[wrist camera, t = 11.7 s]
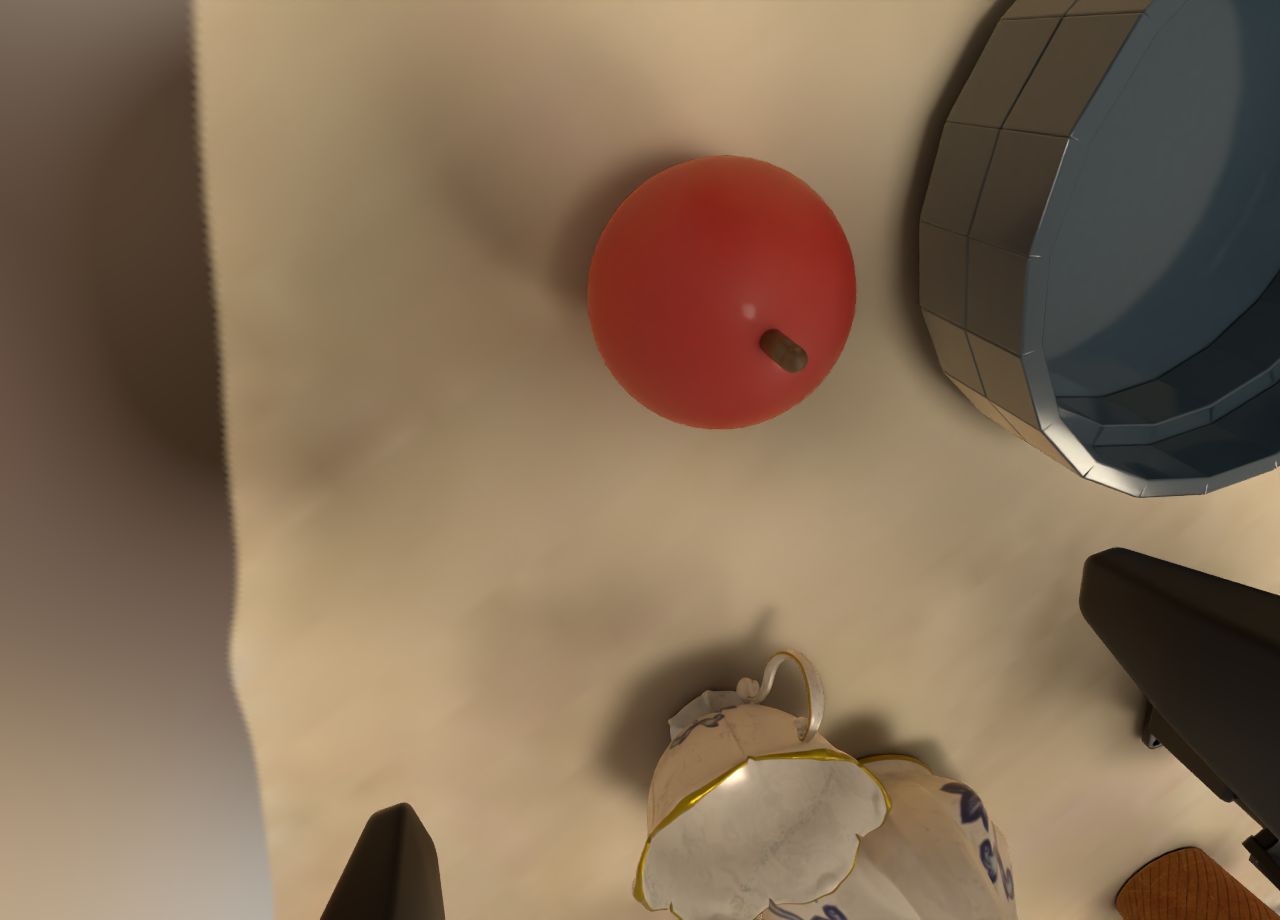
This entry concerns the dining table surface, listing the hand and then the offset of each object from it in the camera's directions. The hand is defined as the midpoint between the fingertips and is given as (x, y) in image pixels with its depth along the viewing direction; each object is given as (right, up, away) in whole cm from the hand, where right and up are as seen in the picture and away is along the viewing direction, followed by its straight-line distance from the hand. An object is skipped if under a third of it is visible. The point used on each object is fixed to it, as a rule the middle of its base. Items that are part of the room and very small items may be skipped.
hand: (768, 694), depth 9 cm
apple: (-1, +8, +10) cm, 13 cm away
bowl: (+13, +11, +13) cm, 21 cm away
